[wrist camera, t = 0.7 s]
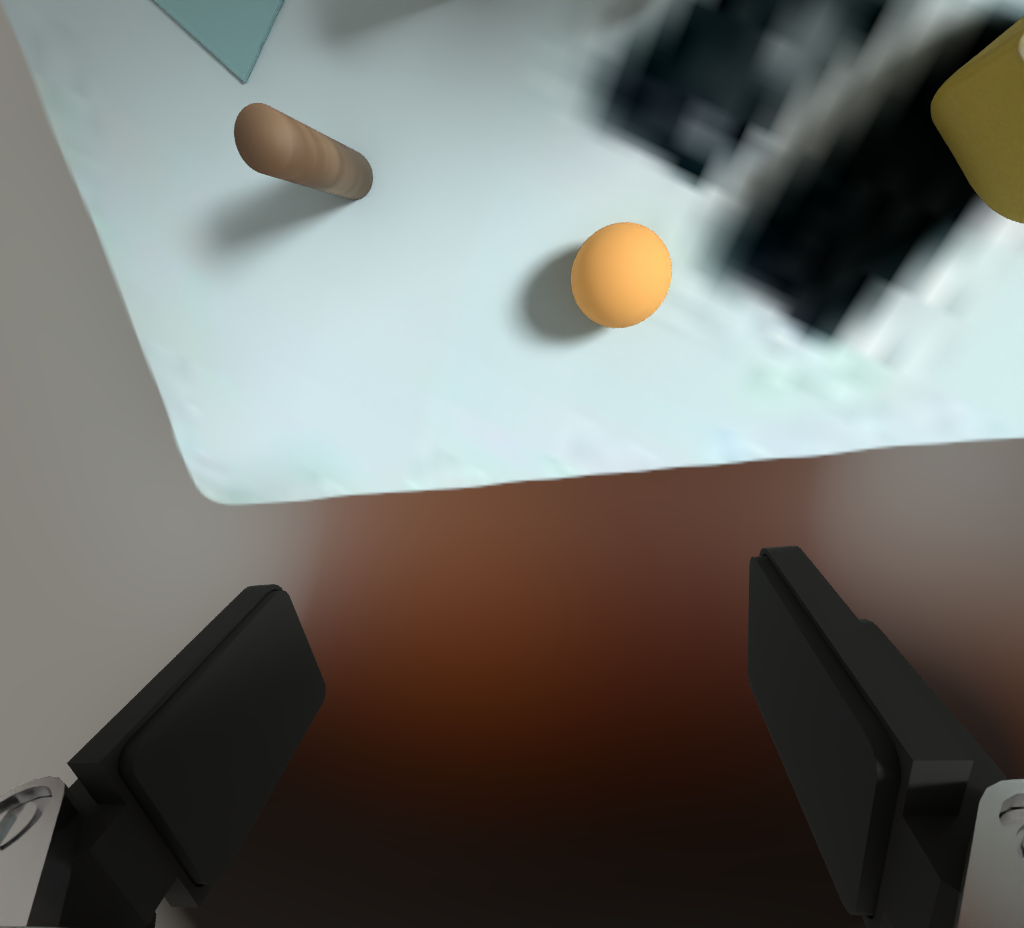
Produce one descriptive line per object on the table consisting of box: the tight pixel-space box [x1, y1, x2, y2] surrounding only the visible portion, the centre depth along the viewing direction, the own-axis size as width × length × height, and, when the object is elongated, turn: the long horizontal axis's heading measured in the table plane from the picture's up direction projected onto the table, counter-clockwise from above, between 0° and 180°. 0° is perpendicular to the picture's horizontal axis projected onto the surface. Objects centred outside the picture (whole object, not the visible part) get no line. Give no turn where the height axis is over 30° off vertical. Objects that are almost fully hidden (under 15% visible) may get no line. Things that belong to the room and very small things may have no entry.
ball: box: [571, 222, 672, 328], centre depth 27 cm, size 6×6×6 cm
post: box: [234, 103, 373, 200], centre depth 25 cm, size 3×3×9 cm
